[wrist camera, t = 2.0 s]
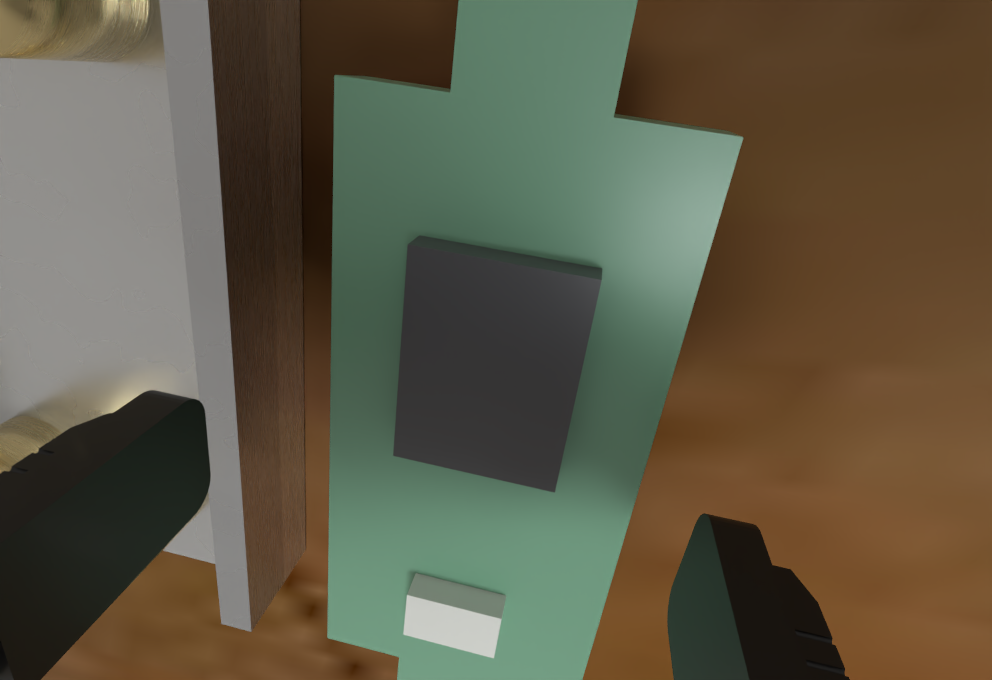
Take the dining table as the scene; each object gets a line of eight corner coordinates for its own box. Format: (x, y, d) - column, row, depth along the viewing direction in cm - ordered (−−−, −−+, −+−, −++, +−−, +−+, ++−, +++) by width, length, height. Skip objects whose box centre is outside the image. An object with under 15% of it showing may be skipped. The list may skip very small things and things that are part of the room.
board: (765, -1, 8) (802, -22, 7) (564, 703, 15) (558, 777, 13) (369, -50, 9) (315, -80, 7) (346, 644, 16) (315, 709, 14)
